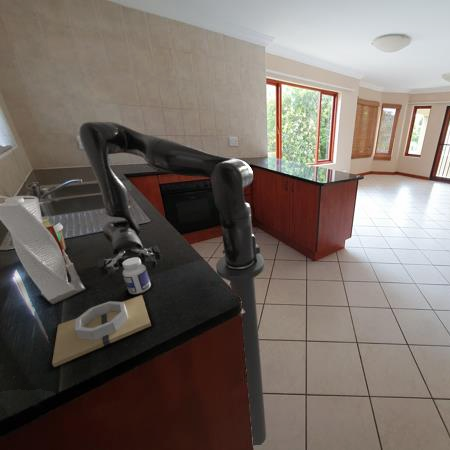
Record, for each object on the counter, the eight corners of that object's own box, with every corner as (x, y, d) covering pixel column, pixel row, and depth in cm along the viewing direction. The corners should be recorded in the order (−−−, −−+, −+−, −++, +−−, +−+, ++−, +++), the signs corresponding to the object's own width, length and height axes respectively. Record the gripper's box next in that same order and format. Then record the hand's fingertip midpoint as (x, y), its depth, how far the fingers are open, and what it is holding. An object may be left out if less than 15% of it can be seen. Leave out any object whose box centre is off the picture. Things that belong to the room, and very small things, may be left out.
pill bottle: (149, 280, 69) (142, 254, 66) (152, 289, 65) (144, 262, 62) (128, 287, 66) (119, 259, 63) (129, 297, 62) (119, 269, 59)
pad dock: (142, 298, 62) (139, 287, 61) (151, 325, 54) (147, 314, 52) (59, 328, 53) (53, 316, 51) (54, 367, 44) (46, 354, 43)
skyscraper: (44, 308, 58) (-13, 199, 47) (32, 297, 62) (-24, 193, 51) (86, 289, 65) (44, 190, 54) (73, 280, 69) (31, 185, 58)
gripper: (94, 242, 68) (94, 267, 56) (150, 230, 76) (161, 249, 64) (102, 265, 71) (104, 293, 59) (156, 250, 79) (167, 272, 67)
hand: (134, 270), depth 62 cm, fingers open, 8 cm apart
